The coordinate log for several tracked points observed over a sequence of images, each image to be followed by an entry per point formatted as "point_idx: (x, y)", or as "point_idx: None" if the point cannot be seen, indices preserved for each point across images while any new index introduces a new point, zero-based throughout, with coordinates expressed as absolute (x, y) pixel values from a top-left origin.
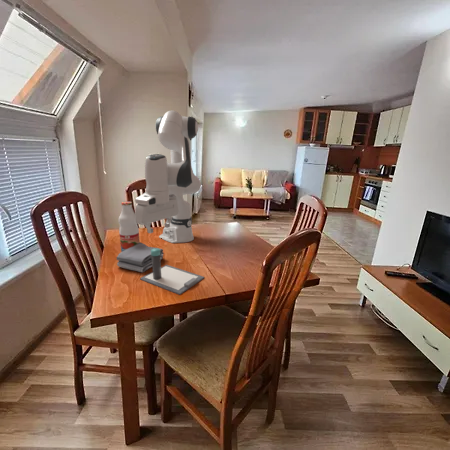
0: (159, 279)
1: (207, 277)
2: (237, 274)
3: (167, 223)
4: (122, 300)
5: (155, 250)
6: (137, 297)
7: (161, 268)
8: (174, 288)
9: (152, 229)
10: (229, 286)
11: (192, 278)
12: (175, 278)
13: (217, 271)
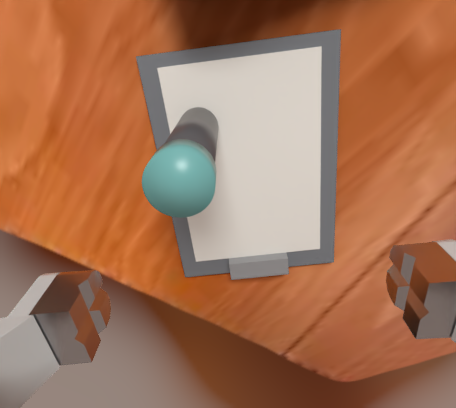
0: None
1: (343, 264)
2: None
3: (441, 321)
4: (5, 158)
5: (172, 194)
6: (61, 183)
7: (282, 52)
8: (192, 245)
9: (82, 353)
10: (328, 341)
11: (280, 260)
12: (249, 193)
13: None
